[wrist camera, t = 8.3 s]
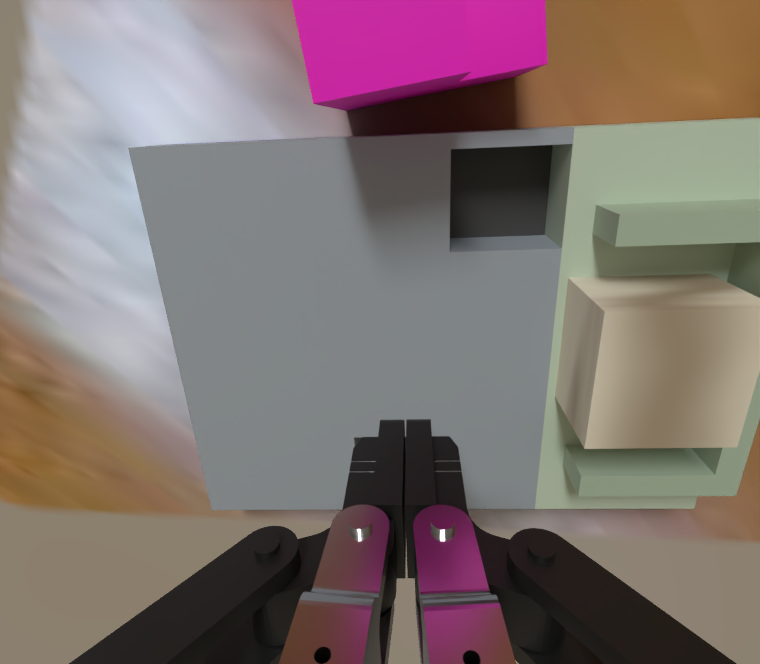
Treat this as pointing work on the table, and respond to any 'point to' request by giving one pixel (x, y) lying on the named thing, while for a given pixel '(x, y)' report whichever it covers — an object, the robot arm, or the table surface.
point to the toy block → (415, 46)
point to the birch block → (658, 361)
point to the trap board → (433, 298)
